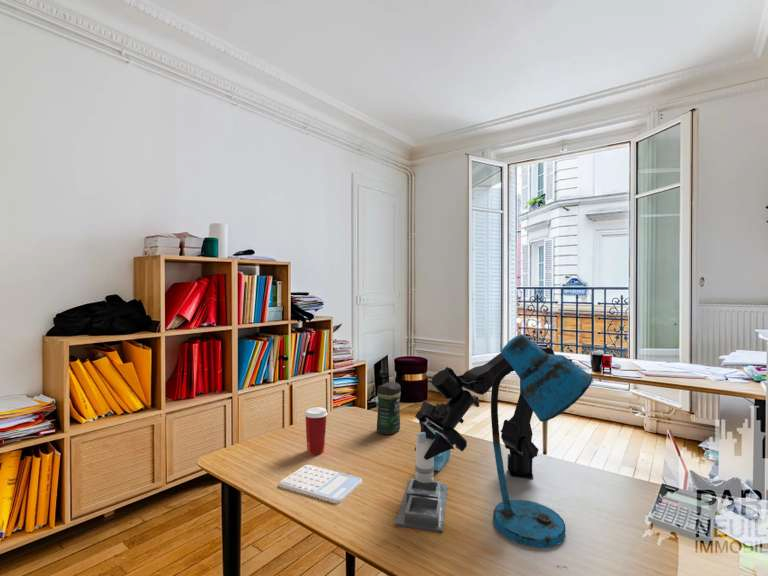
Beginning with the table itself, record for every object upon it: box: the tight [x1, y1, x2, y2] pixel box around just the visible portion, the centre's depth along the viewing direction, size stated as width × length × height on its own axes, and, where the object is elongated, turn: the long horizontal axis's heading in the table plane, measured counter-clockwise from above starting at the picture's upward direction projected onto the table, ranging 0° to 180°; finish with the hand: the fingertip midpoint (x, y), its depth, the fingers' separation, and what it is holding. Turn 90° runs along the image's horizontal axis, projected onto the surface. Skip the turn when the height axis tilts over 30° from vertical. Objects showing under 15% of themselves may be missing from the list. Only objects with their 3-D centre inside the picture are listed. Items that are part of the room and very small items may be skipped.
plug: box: [414, 431, 435, 483], centre depth 105 cm, size 5×5×12 cm
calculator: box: [278, 464, 363, 505], centre depth 111 cm, size 13×20×2 cm, turn 64°
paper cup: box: [304, 406, 328, 456], centre depth 133 cm, size 8×8×14 cm
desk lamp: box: [490, 333, 594, 548], centre depth 92 cm, size 16×22×45 cm
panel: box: [394, 477, 449, 533], centre depth 101 cm, size 11×21×2 cm, turn 167°
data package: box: [433, 430, 451, 472], centre depth 125 cm, size 12×4×12 cm, turn 153°
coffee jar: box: [376, 381, 402, 435], centre depth 153 cm, size 10×8×19 cm
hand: (420, 455), depth 105 cm, fingers closed on plug, 5 cm apart
